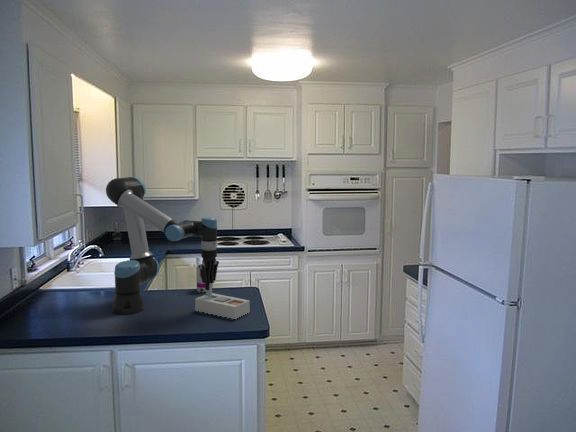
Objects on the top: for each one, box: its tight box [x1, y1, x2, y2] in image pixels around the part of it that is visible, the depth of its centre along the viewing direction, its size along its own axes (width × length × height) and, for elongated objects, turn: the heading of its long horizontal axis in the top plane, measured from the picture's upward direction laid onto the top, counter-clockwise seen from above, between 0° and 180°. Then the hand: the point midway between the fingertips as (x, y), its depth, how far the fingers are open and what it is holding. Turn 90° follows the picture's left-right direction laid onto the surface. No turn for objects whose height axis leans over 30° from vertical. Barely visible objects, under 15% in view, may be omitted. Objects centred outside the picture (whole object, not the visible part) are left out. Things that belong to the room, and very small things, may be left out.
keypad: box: [194, 292, 251, 320], centre depth 235 cm, size 12×24×6 cm, turn 59°
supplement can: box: [196, 263, 206, 293], centre depth 270 cm, size 8×8×15 cm
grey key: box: [214, 297, 230, 303], centre depth 235 cm, size 6×6×4 cm
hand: (208, 295), depth 239 cm, fingers closed
